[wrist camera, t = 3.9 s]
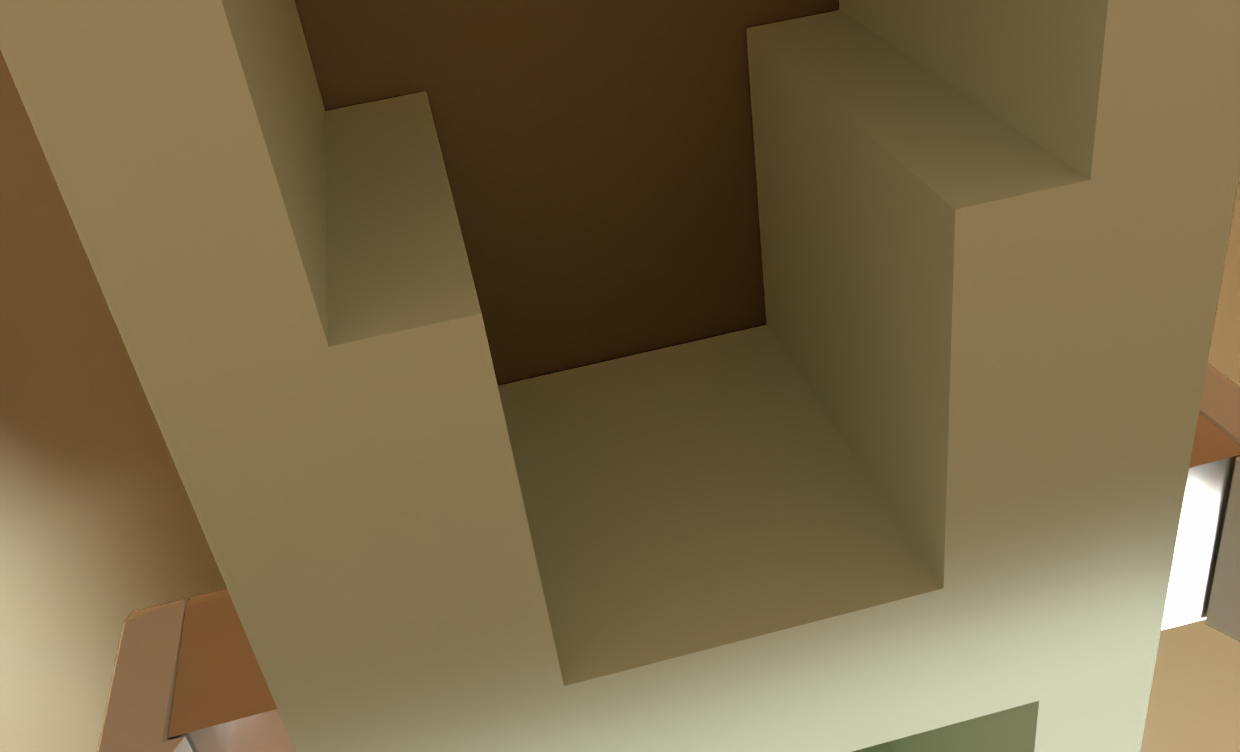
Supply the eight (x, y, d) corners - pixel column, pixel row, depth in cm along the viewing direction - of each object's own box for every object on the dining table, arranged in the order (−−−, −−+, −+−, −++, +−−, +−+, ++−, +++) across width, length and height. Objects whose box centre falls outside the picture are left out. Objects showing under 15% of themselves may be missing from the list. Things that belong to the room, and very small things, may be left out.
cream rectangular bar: (925, 874, 17) (1068, 1162, 14) (495, 997, 17) (538, 1333, 13) (966, -895, 7) (1501, -1348, 4) (-107, -782, 7) (-538, -1223, 3)
